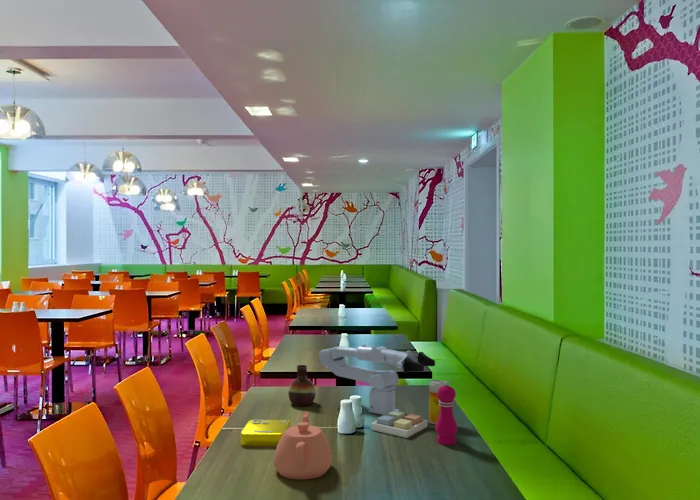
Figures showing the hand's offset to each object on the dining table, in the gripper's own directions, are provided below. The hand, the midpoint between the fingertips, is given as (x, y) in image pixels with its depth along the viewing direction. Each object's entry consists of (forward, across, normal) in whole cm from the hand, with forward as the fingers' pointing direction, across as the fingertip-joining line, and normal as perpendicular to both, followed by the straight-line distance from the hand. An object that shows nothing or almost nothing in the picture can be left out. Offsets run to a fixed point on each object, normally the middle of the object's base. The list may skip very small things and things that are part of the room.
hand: (429, 365), depth 206 cm
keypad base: (-3, -14, +20) cm, 25 cm away
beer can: (+4, 0, +21) cm, 21 cm away
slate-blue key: (-7, -18, +18) cm, 26 cm away
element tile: (-32, -50, +19) cm, 63 cm away
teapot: (-5, -61, +17) cm, 63 cm away
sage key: (-7, -11, +19) cm, 23 cm away
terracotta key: (0, -10, +18) cm, 21 cm away
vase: (-52, -14, +23) cm, 58 cm away
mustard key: (0, -17, +18) cm, 25 cm away
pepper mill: (+16, -15, +19) cm, 29 cm away
